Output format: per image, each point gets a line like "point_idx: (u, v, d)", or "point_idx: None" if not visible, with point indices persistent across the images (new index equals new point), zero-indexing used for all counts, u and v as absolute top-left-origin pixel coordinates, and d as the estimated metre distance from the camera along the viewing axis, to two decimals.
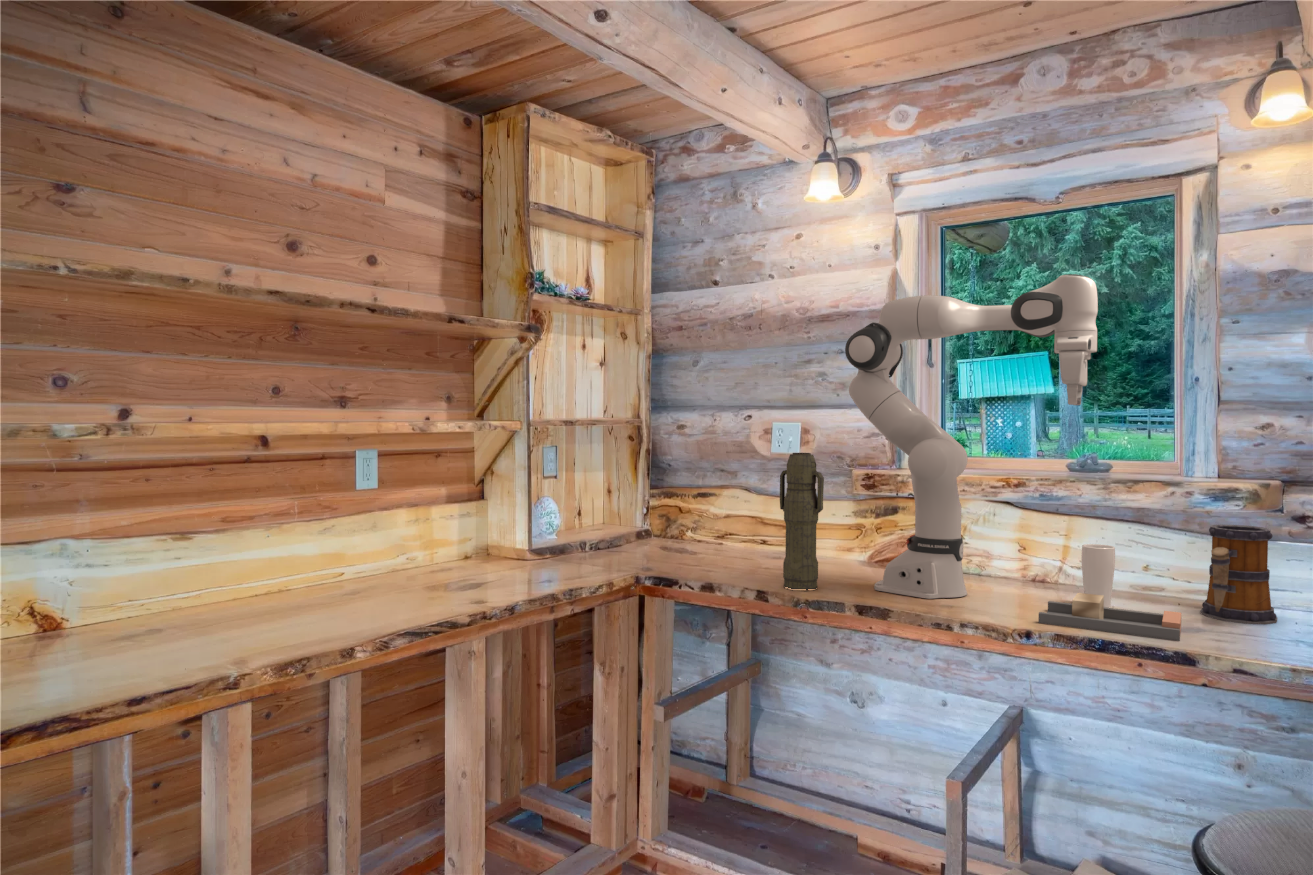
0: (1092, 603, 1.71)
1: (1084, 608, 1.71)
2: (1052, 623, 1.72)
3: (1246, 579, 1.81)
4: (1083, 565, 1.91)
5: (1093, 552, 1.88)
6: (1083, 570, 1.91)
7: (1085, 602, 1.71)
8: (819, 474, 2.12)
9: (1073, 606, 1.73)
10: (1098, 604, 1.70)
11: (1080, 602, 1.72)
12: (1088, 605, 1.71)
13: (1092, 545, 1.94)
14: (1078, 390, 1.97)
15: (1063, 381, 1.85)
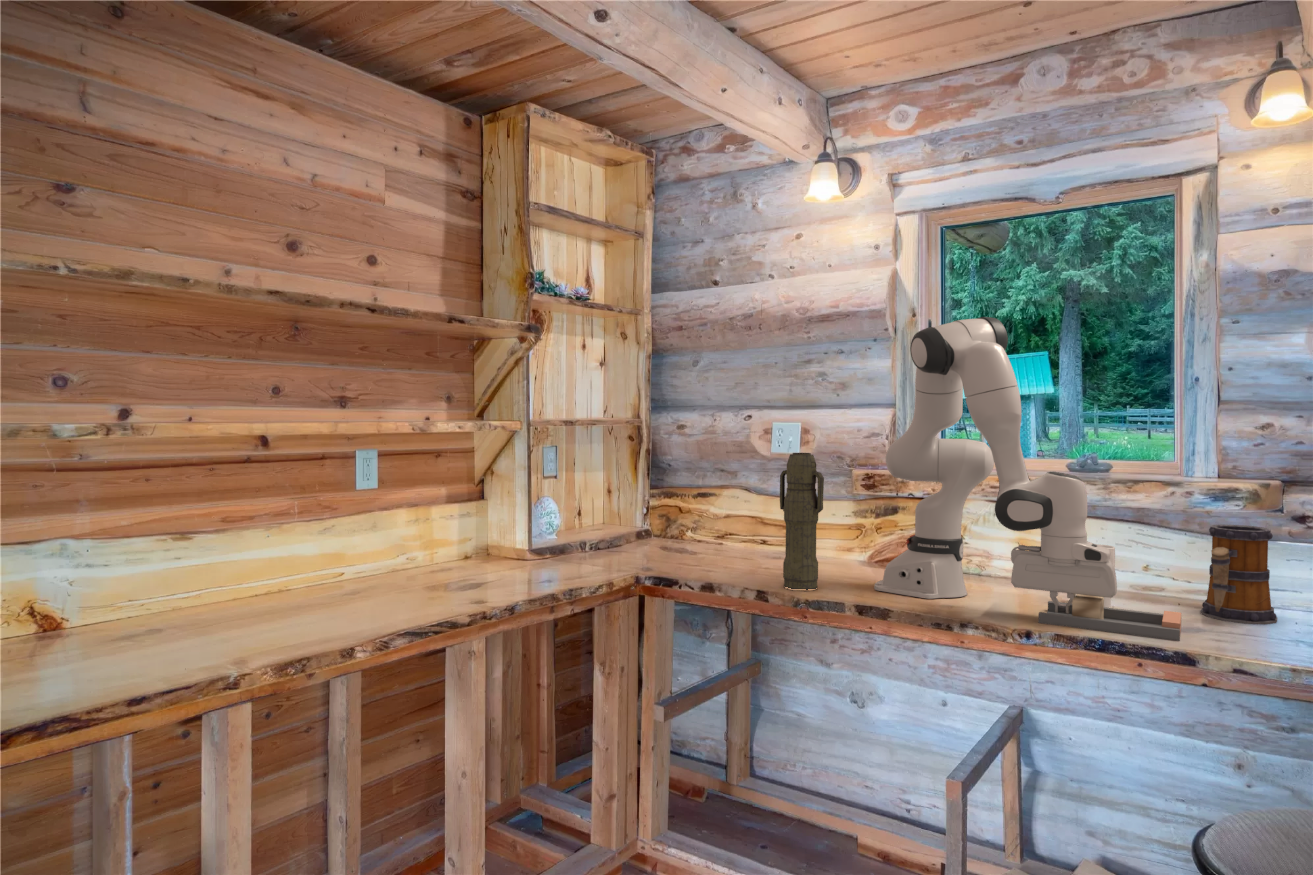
0: (1092, 603, 1.71)
1: (1085, 609, 1.71)
2: (1052, 623, 1.72)
3: (1246, 579, 1.81)
4: None
5: None
6: None
7: (1085, 602, 1.71)
8: (819, 474, 2.12)
9: (1073, 606, 1.72)
10: (1098, 604, 1.70)
11: (1080, 602, 1.72)
12: (1088, 605, 1.71)
13: None
14: (1056, 595, 1.78)
15: (1113, 595, 1.71)
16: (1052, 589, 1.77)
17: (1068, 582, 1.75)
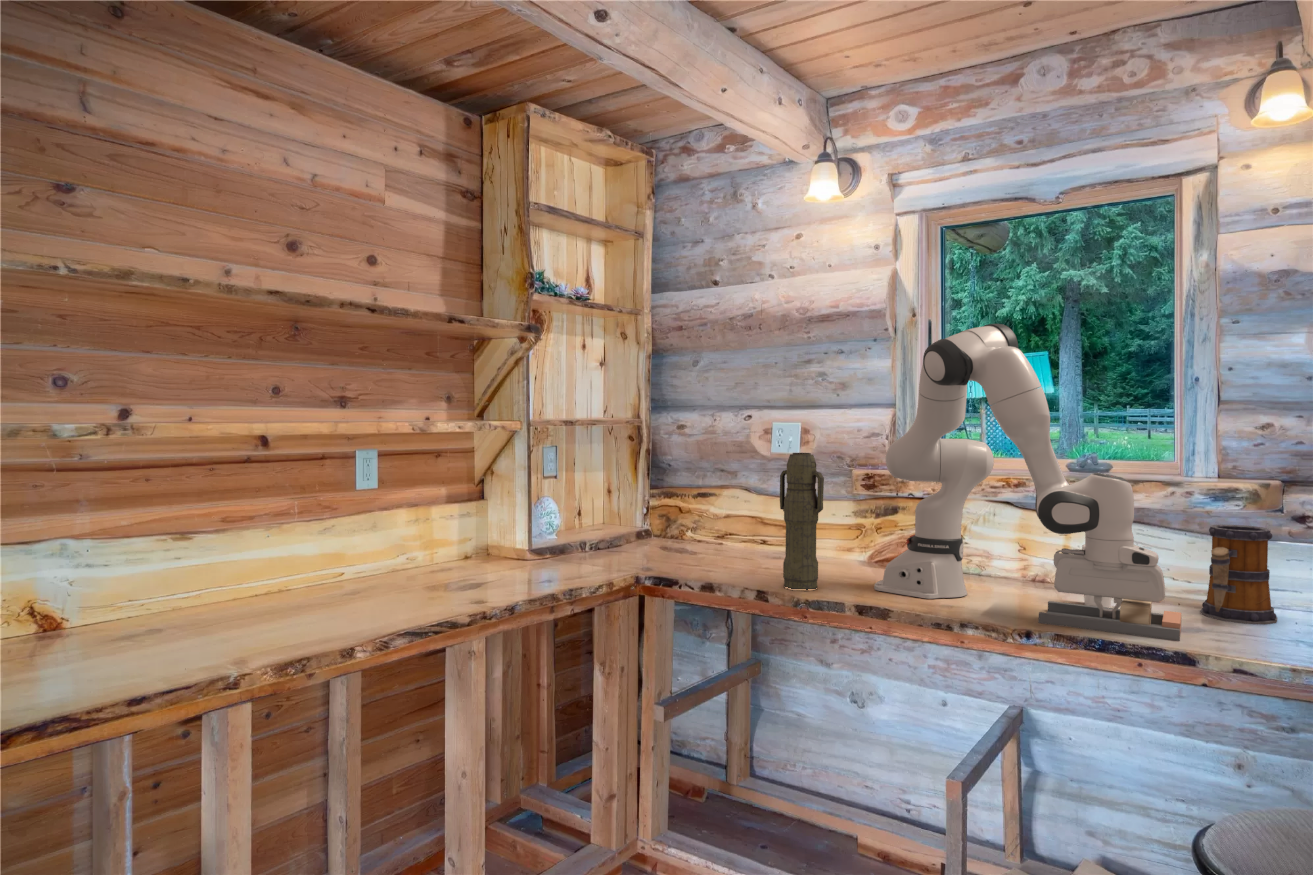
0: (1141, 609, 1.66)
1: (1133, 614, 1.66)
2: (1052, 623, 1.72)
3: (1246, 579, 1.81)
4: None
5: None
6: None
7: (1134, 607, 1.66)
8: (819, 474, 2.12)
9: (1121, 611, 1.68)
10: (1148, 610, 1.65)
11: (1128, 607, 1.67)
12: (1137, 611, 1.66)
13: None
14: None
15: (1161, 600, 1.66)
16: (1097, 594, 1.72)
17: (1114, 587, 1.70)
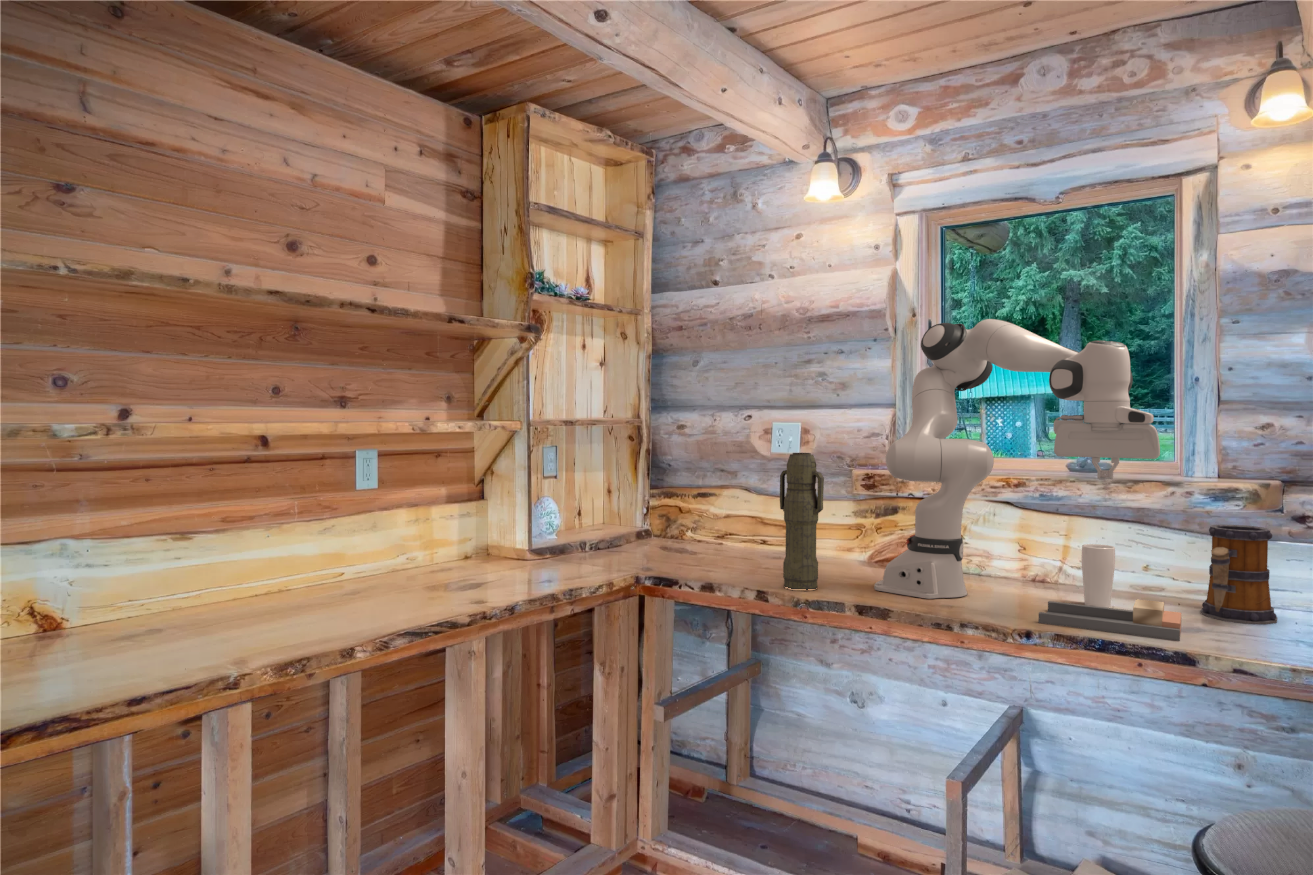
0: (1154, 610, 1.64)
1: (1146, 616, 1.65)
2: (1052, 623, 1.72)
3: (1246, 579, 1.81)
4: (1083, 565, 1.91)
5: (1093, 552, 1.88)
6: (1083, 570, 1.91)
7: (1147, 609, 1.65)
8: (819, 474, 2.12)
9: (1134, 613, 1.66)
10: (1161, 611, 1.64)
11: (1142, 609, 1.66)
12: (1150, 612, 1.65)
13: (1092, 545, 1.94)
14: (1098, 462, 1.82)
15: (1156, 456, 1.74)
16: (1095, 455, 1.80)
17: (1111, 447, 1.78)
